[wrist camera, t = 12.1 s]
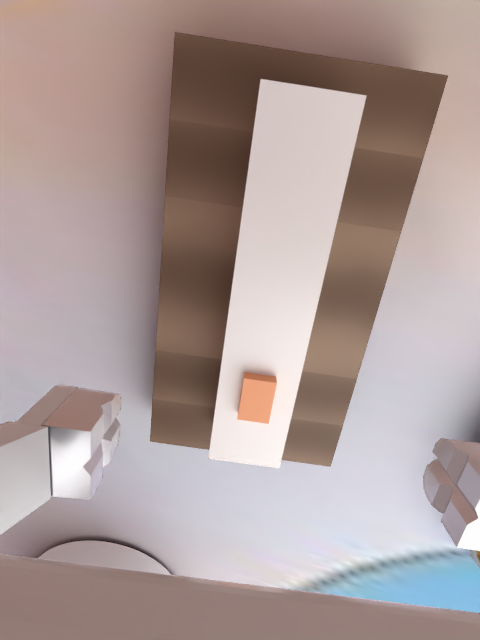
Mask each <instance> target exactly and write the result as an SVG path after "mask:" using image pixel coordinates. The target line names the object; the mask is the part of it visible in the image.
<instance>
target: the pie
mask: <svg viewBox="0 0 480 640" xmlns="http://www.w3.org/2000/svg"><path fill="white" fill-rule="evenodd" d="M470 556H471V557H472V559H473V560H474V561H475V563H476V564H477V565H478V567H479V568H480V551H478V550H472V549H470Z"/></svg>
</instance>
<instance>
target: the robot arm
mask: <svg viewBox="0 0 480 640" xmlns="http://www.w3.org/2000/svg"><path fill="white" fill-rule="evenodd" d="M120 410H121V397H120V395H119V394H117V393H110V392H104V391H98V390H91V389H85V388H78V387H72V386H64V385H57V386H54V387H53V388H52V389H51V390H50V391H49V392H48V393H47V394H46V395H45V396H44V397H43V398H41V399H40V400H39V401H38V402H37V403H36V404H35V405H34V406H33V407H32V408H31V409H30V410H29V411H28V412H27V413H26V414H24V415H23V416H22V417H21V418H20V419H19V420H18V421H17V422H7V423H4V424H1V425H0V535H1V534H2V533H4V532H5V531H6V530H8V529H9V528H11V527H12V526H13V525H15V524H16V523H18V522H19V521H20V520H22V519H23V518H25V517H26V516H27V515H29V514H30V513H32V512H33V511H34V510H36V509H37V508H38V507H40V506H41V505H43V504H44V503H45V502H47V501H48V500H50V499H51V496H53V497H64V498H74V499H84V500H91V498H92V496H93V494H94V492H95V491H96V489H97V487H98V485H99V483H100V481H101V479H102V477H103V467H104V466H106V465H108V464H109V463H110V462H111V460H112V458H113V456H114V454H115V451H116V448H117V445H118V441H119V435H120V423H119V422H118V420H117V419H116V416H117V415H118V413H119V411H120ZM433 454H434V456H435V460H434V461H432V462H431V463H430V464H428V465H427V467H426V470H425V473H424V476H423V483H424V490H425V494H426V497H427V498H428V500H429V502H430V503H431V505H432V506H433V507H434V508H436V509H437V510H438V511H439V512H441V513H442V519H441V522H442V523H443V525H444V527H445V528H446V530H447V532H448V533H449V535H450V537H451V538H452V540H453V541H454V543H455V545H456V546H457V547H459V548H465V549H472V550H478V551H480V443H477V442H468V441H460V440H451V439H442V438H441V439H440V440H439V441H438V442H437V443H436V444H435V447H434V449H433ZM0 640H480V613H476V612H468V611H460V610H452V609H444V608H436V607H427V606H419V605H411V604H403V603H395V602H387V601H379V600H371V599H363V598H355V597H347V596H339V595H331V594H323V593H315V592H307V591H298V590H290V589H282V588H274V587H266V586H258V585H250V584H242V583H233V582H225V581H217V580H209V579H201V578H192V577H184V576H176V575H171V574H170V573H169V571H168V570H167V569H166V568H164V567H163V566H162V565H161V564H160V563H158V562H157V561H156V560H154V559H153V558H151V557H149V556H147V555H146V554H144V553H142V552H140V551H137V550H135V549H132V548H130V547H127V546H123V545H120V544H115V543H110V542H104V541H75V542H69V543H65V544H62V545H59V546H56V547H54V548H51V549H49V550H48V551H46V552H45V553H43V554H42V555H41V556H39V557H38V558H31V557H23V556H15V555H7V554H0Z"/></svg>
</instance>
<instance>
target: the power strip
mask: <svg viewBox="0 0 480 640" xmlns="http://www.w3.org/2000/svg"><path fill="white" fill-rule="evenodd" d="M366 96H367V95H360V94H354V93H348V92H341V91H335V90H328V89H322V88H316V87H309V86H303V85H297V84H290V83H284V82H278V81H271V80H265V79H261V80H260V87H259V94H258V101H257V109H256V116H255V123H254V130H253V138H252V145H251V152H250V159H249V167H248V174H247V181H246V188H245V196H244V203H243V210H242V217H241V225H240V232H239V239H238V246H237V254H236V261H235V268H234V275H233V283H232V290H231V297H230V304H229V312H228V319H227V326H226V333H225V341H224V348H223V355H222V362H221V370H220V377H219V384H218V391H217V399H216V406H215V413H214V420H213V428H212V435H211V442H210V449H209V457H208V459H214V460H222V461H229V462H236V463H243V464H250V465H257V466H265V467H272V468H280V464H281V459H282V455H283V451H284V447H285V442H286V438H287V434H288V430H289V425H290V421H291V417H292V412H293V408H294V404H295V400H296V395H297V391H298V387H299V383H300V378H301V374H302V370H303V365H304V361H305V357H306V353H307V348H308V344H309V340H310V336H311V331H312V327H313V323H314V318H315V314H316V310H317V306H318V301H319V297H320V293H321V289H322V284H323V280H324V276H325V271H326V267H327V263H328V259H329V254H330V250H331V246H332V242H333V237H334V233H335V229H336V224H337V220H338V216H339V212H340V207H341V203H342V199H343V195H344V190H345V186H346V182H347V177H348V173H349V169H350V165H351V160H352V156H353V152H354V147H355V143H356V139H357V135H358V130H359V126H360V122H361V118H362V113H363V109H364V105H365V100H366Z"/></svg>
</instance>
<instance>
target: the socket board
mask: <svg viewBox="0 0 480 640" xmlns="http://www.w3.org/2000/svg"><path fill="white" fill-rule="evenodd" d="M447 78H448V76H447V75H441V74H435V73H429V72H422V71H416V70H410V69H403V68H397V67H391V66H384V65H378V64H372V63H366V62H359V61H353V60H347V59H340V58H334V57H328V56H322V55H315V54H309V53H303V52H296V51H290V50H284V49H277V48H271V47H265V46H259V45H252V44H246V43H240V42H233V41H227V40H221V39H215V38H208V37H202V36H196V35H189V34H183V33H177V32H175V39H174V56H173V72H172V89H171V105H170V122H169V138H168V154H167V171H166V187H165V204H164V220H163V237H162V253H161V270H160V286H159V303H158V319H157V336H156V352H155V369H154V385H153V402H152V418H151V435H150V441H151V442H158V443H165V444H172V445H180V446H187V447H194V448H201V449H208V450H209V449H210V442H211V435H212V428H213V420H214V413H215V406H216V399H217V391H218V384H219V377H220V370H221V362H222V355H223V348H224V341H225V333H226V326H227V319H228V312H229V304H230V297H231V290H232V283H233V275H234V268H235V261H236V254H237V246H238V239H239V232H240V225H241V217H242V210H243V203H244V196H245V188H246V181H247V174H248V167H249V159H250V152H251V145H252V138H253V130H254V123H255V116H256V109H257V101H258V94H259V87H260V80H261V79H265V80H271V81H278V82H284V83H290V84H297V85H303V86H309V87H316V88H322V89H328V90H335V91H341V92H348V93H354V94H360V95H367V96H366V100H365V105H364V109H363V113H362V118H361V122H360V126H359V130H358V135H357V139H356V143H355V147H354V152H353V156H352V160H351V165H350V169H349V173H348V177H347V182H346V186H345V190H344V195H343V199H342V203H341V207H340V212H339V216H338V220H337V224H336V229H335V233H334V237H333V242H332V246H331V250H330V254H329V259H328V263H327V267H326V271H325V276H324V280H323V284H322V289H321V293H320V297H319V301H318V306H317V310H316V314H315V318H314V323H313V327H312V331H311V336H310V340H309V344H308V348H307V353H306V357H305V361H304V365H303V370H302V374H301V378H300V383H299V387H298V391H297V395H296V400H295V404H294V408H293V412H292V417H291V421H290V425H289V430H288V434H287V438H286V442H285V447H284V451H283V455H282V459H281V460H287V461H294V462H301V463H308V464H316V465H323V466H331V463H332V460H333V456H334V453H335V450H336V446H337V443H338V440H339V436H340V433H341V430H342V426H343V423H344V420H345V416H346V413H347V410H348V406H349V403H350V400H351V397H352V393H353V390H354V387H355V383H356V380H357V377H358V373H359V370H360V367H361V363H362V360H363V357H364V353H365V350H366V347H367V343H368V340H369V337H370V333H371V330H372V327H373V323H374V320H375V317H376V313H377V310H378V307H379V304H380V300H381V297H382V294H383V290H384V287H385V284H386V280H387V277H388V274H389V270H390V267H391V264H392V260H393V257H394V254H395V250H396V247H397V244H398V240H399V237H400V234H401V230H402V227H403V224H404V220H405V217H406V214H407V211H408V207H409V204H410V201H411V197H412V194H413V191H414V187H415V184H416V181H417V177H418V174H419V171H420V167H421V164H422V161H423V157H424V154H425V151H426V147H427V144H428V141H429V137H430V134H431V131H432V127H433V124H434V121H435V118H436V114H437V111H438V108H439V104H440V101H441V98H442V94H443V91H444V88H445V84H446V81H447Z"/></svg>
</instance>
